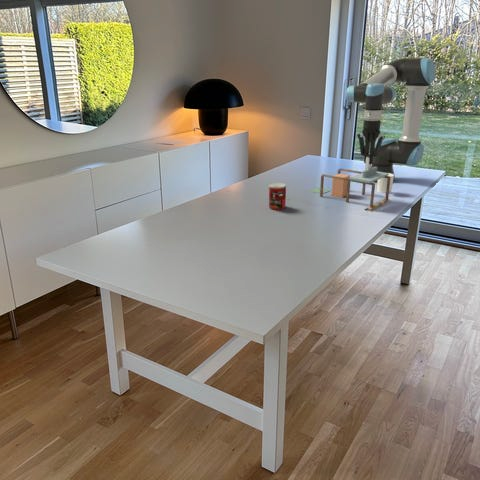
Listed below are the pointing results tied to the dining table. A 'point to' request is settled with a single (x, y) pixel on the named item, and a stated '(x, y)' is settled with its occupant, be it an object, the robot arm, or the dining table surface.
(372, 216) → the dining table surface
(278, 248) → the dining table surface
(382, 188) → the white cup
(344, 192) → the block
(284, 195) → the canned food
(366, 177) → the lid
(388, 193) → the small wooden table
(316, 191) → the felt pad
